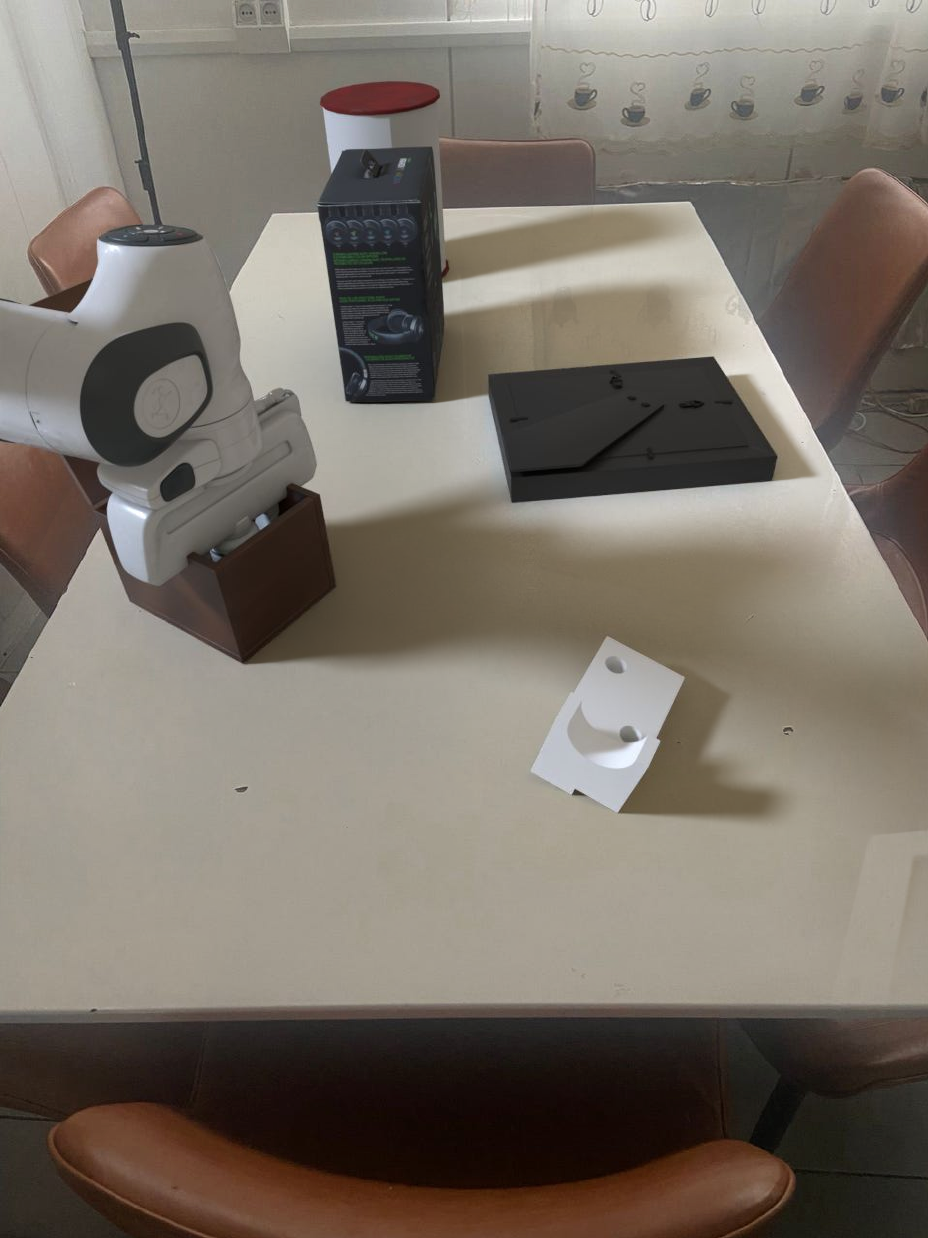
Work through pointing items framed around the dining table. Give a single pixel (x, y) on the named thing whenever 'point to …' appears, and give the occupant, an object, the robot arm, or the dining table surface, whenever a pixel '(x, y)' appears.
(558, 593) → the dining table surface
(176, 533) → the robot arm
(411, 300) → the headset box
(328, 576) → the chest
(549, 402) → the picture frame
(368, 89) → the container
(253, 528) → the pill bottle
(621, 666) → the bracket
